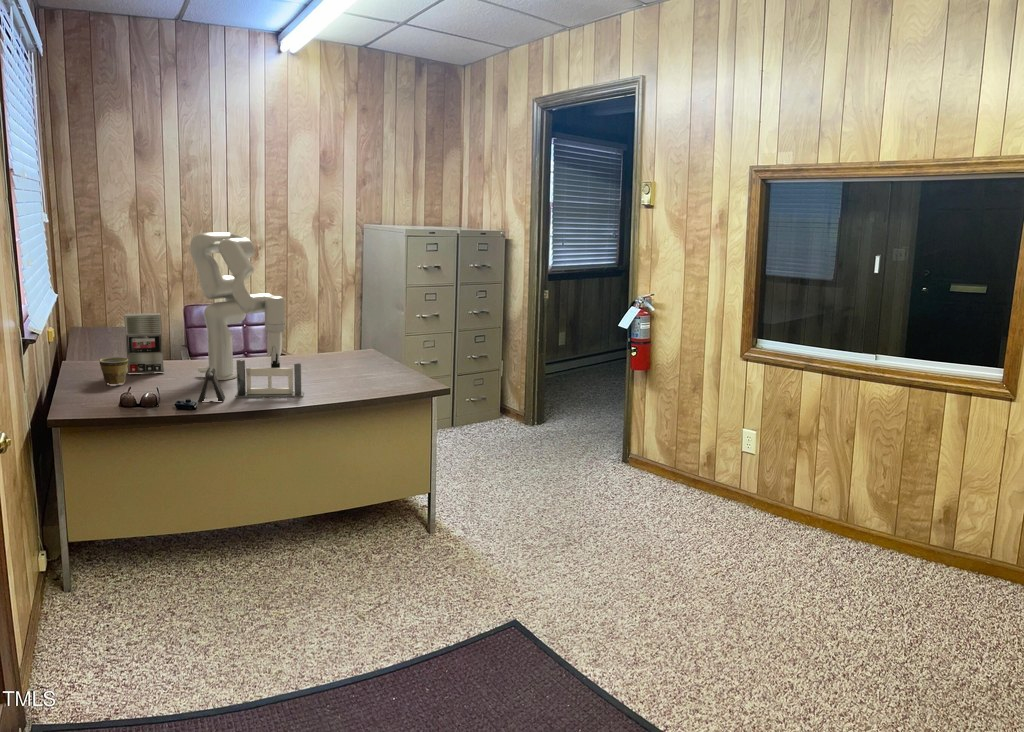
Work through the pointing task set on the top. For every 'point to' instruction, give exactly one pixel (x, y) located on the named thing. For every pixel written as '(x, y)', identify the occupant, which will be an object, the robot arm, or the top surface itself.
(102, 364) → the ceramic cup
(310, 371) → the top surface
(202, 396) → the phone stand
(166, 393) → the top surface
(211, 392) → the top surface
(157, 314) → the cassette tape recorder
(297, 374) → the gate frame
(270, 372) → the gate
